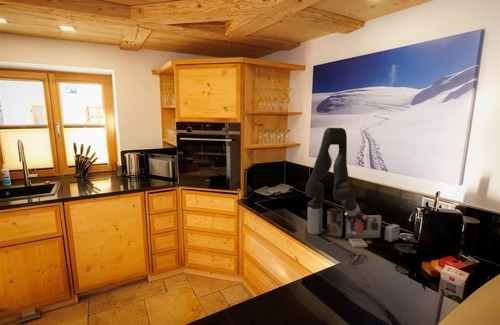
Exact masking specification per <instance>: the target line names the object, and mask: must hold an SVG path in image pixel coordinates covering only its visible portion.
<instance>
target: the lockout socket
mask: <svg viewBox="0 0 500 325" xmlns="http://www.w3.org/2000/svg"><path fill="white" fill-rule="evenodd" d="M348 242H349V243H350V244H351V245H352V247H353V248H368V243H367V242H366V241H365V240H364V238H352V239H348Z"/></svg>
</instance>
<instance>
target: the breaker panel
mask: <svg viewBox="0 0 500 325" xmlns="http://www.w3.org/2000/svg"><path fill="white" fill-rule="evenodd" d="M367 216H368V217H369V219H368V223H367V225H366V226H365V227H364V226H363V233H356V232H355V224H354V223H353V222H352V220H348V219H347V218H346V217H345V235H344V237H345V239H347V240H349V239H357V238H362V239H374V238H375V239H378V238H379V239H380V238H381V229H382V228H381V226H382V215H380V214H376V215H375V214H374V215H371V214H370V215H364V217H367Z"/></svg>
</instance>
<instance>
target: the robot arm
mask: <svg viewBox="0 0 500 325" xmlns="http://www.w3.org/2000/svg"><path fill="white" fill-rule="evenodd" d="M347 141H348V139H347V132H346V130H345V128H343V127H327V128H326V129H325V131H324V132H323V136H322V140H321V144H320V148H319V151H318V154H317V158H316V159H315V163H314V166H313V169H312V172H311V174H310V176H309V179H308V181H307V183H306V186H305V188H304V189H305V190H304V193H305V196H307V197H308V198H313V199H311V200H309V201H307V233H308V234H311V235H321V234H322V231H323V229H322V228H323V227H322V226H323V204H324V195H325V187H324V185H323V183H322V182H320V181H321V180H322V179H323V178H325V177H326V176H327V175H328V173H329V172H330V170H331V168H332V166H333V168H332V169H333V178H334V183H333V190H332V196H333V199H334V200H335V201H336V202H340V203H341V205H342V207H343V209H344V211H345V212H344V215H343V216H344V217H345V219H346V218H347V219H348V220H352V222H353V223H354V224H355V220H358V221H359V222H360V223H362V225H363V226H364V227H365V226H366V225H367V223H368V219H369V217H368V216H367V215H366V216H367V217H364V216H365V215H364V214H362V210H361V208H360V206H359V204H358V203H357V201H356V199H355V195H356V194H355V189H354V188H353V187H352V186H349V185H347V186H342V185H343V184H344V183H347V182H348V181H350V180H349V172H348V170H349V169H348V162H347V160H348V159H347V155H348V154H347V153H348V150H347V149H348V147H347V146H348V142H347ZM331 145H332V146H337V145H338V146H337V147H338V153H337V156H336V158H335V160H334V162H333V160H332V157H331V154H330V152H329V150H330V147H331ZM333 163H334V164H333ZM332 164H333V165H332ZM363 215H364V216H363Z"/></svg>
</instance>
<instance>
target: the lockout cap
mask: <svg viewBox="0 0 500 325" xmlns="http://www.w3.org/2000/svg"><path fill="white" fill-rule="evenodd" d="M362 215H363V216H365V215H364V214H362ZM355 232H356V233H363V225H362V223H360V222H359V221H358V220H355Z"/></svg>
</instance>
